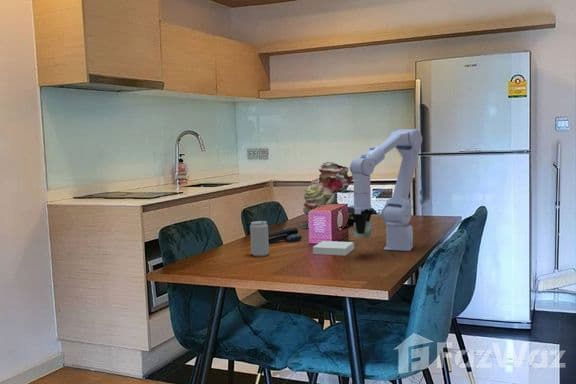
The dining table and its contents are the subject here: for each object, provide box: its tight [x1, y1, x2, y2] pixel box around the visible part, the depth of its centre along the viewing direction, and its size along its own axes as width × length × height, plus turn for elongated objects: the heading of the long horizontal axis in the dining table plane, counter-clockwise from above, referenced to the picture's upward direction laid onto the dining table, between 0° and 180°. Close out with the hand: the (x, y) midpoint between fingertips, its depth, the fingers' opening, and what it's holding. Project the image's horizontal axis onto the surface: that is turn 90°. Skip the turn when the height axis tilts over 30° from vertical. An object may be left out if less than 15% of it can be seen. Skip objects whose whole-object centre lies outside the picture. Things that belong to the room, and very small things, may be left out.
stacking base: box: [312, 240, 355, 256], centre depth 203 cm, size 12×12×2 cm
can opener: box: [268, 227, 303, 245], centre depth 224 cm, size 18×7×6 cm, turn 117°
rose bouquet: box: [299, 161, 355, 229], centre depth 259 cm, size 26×29×30 cm
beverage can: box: [249, 220, 270, 257], centre depth 200 cm, size 6×6×12 cm
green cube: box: [353, 220, 372, 239], centre depth 193 cm, size 5×5×5 cm
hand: (362, 232), depth 193 cm, fingers closed on green cube, 5 cm apart
